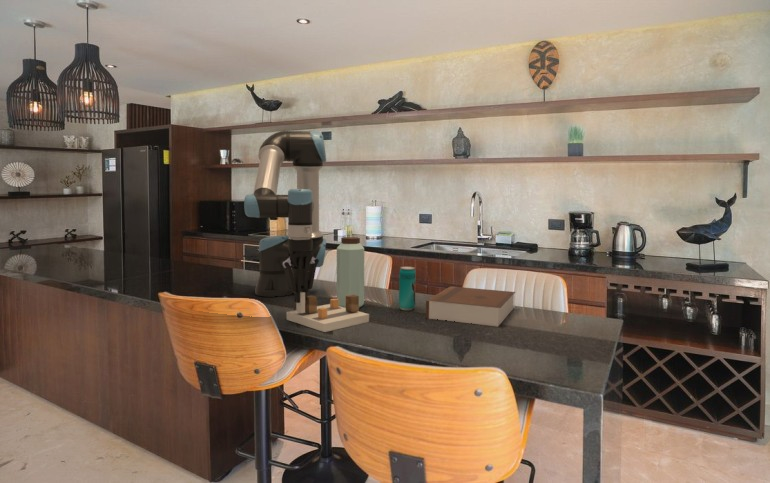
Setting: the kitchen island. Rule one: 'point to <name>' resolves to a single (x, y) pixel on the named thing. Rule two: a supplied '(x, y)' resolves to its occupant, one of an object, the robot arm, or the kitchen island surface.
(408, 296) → the beverage can
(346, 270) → the water bottle
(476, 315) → the book
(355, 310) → the tab
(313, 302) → the tab
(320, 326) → the switch board
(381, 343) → the kitchen island surface
